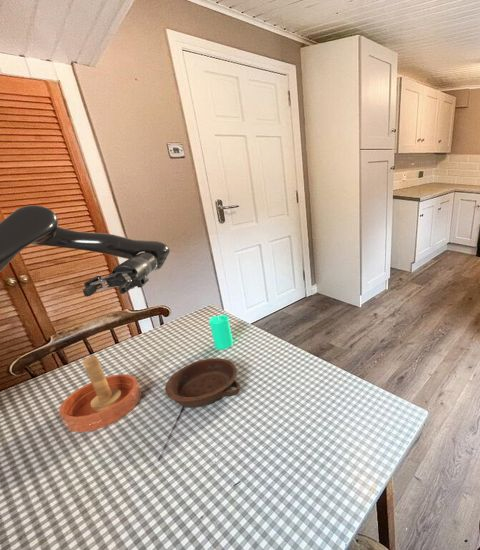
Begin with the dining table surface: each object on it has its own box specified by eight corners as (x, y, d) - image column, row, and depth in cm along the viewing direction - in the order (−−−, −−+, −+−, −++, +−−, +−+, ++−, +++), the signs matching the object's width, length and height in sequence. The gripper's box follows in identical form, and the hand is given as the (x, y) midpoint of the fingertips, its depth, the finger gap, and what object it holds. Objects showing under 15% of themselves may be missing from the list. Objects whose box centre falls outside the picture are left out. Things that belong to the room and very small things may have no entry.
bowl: (50, 439, 72) (41, 424, 70) (91, 392, 86) (85, 378, 84) (123, 428, 75) (117, 413, 73) (152, 384, 89) (147, 371, 87)
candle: (211, 348, 105) (204, 318, 101) (221, 338, 111) (215, 310, 106) (226, 350, 104) (220, 320, 100) (236, 340, 110) (230, 311, 105)
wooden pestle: (86, 413, 78) (65, 368, 73) (104, 395, 84) (86, 352, 79) (112, 412, 79) (93, 367, 73) (128, 394, 84) (112, 350, 79)
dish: (219, 421, 77) (215, 406, 75) (147, 407, 81) (141, 393, 79) (256, 375, 92) (254, 362, 91) (194, 365, 97) (191, 353, 95)
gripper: (104, 261, 95) (68, 281, 80) (154, 258, 97) (128, 277, 83) (112, 283, 98) (78, 306, 83) (160, 280, 100) (136, 302, 85)
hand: (103, 292), depth 83 cm, fingers open, 8 cm apart
